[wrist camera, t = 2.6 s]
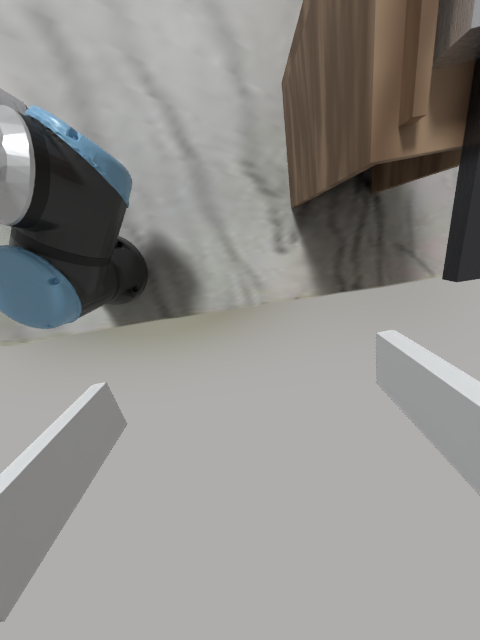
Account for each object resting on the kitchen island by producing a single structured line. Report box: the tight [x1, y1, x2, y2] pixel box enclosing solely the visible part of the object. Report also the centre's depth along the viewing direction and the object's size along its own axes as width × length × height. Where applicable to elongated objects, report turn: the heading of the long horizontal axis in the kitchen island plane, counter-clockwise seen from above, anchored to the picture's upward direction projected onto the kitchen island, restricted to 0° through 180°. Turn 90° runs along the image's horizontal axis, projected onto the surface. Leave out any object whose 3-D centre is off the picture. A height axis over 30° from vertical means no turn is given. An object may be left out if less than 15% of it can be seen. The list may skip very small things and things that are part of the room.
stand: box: [282, 0, 475, 208], centre depth 27 cm, size 17×20×32 cm
